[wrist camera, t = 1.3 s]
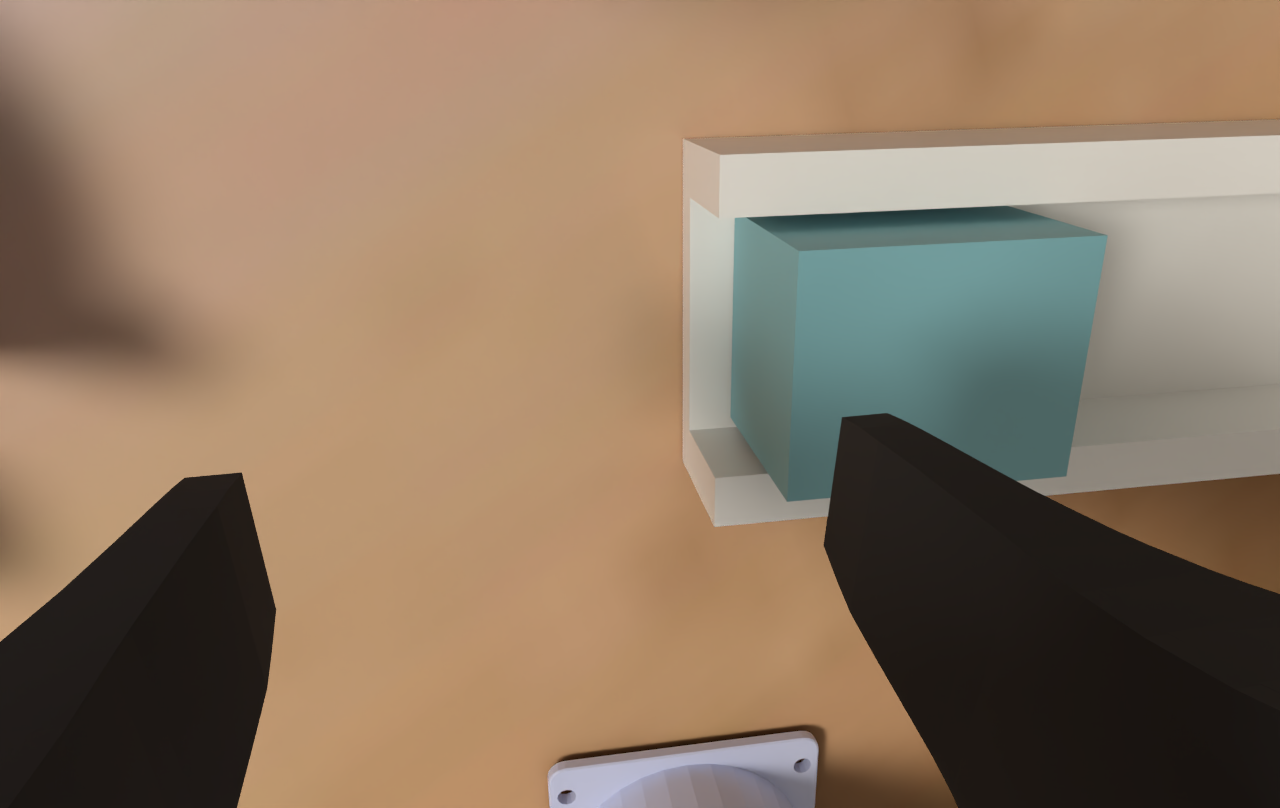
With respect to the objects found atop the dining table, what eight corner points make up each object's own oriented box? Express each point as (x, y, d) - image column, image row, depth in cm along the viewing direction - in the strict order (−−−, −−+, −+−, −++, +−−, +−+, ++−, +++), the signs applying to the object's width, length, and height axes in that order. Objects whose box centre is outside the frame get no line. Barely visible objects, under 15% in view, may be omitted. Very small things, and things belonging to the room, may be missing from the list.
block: (730, 417, 22) (787, 502, 18) (734, 210, 20) (799, 251, 16) (961, 399, 23) (1066, 476, 19) (985, 199, 21) (1107, 235, 17)
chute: (682, 461, 23) (714, 527, 20) (682, 138, 20) (720, 154, 17) (1363, 404, 26) (1486, 454, 23) (1449, 113, 23) (1604, 123, 20)
